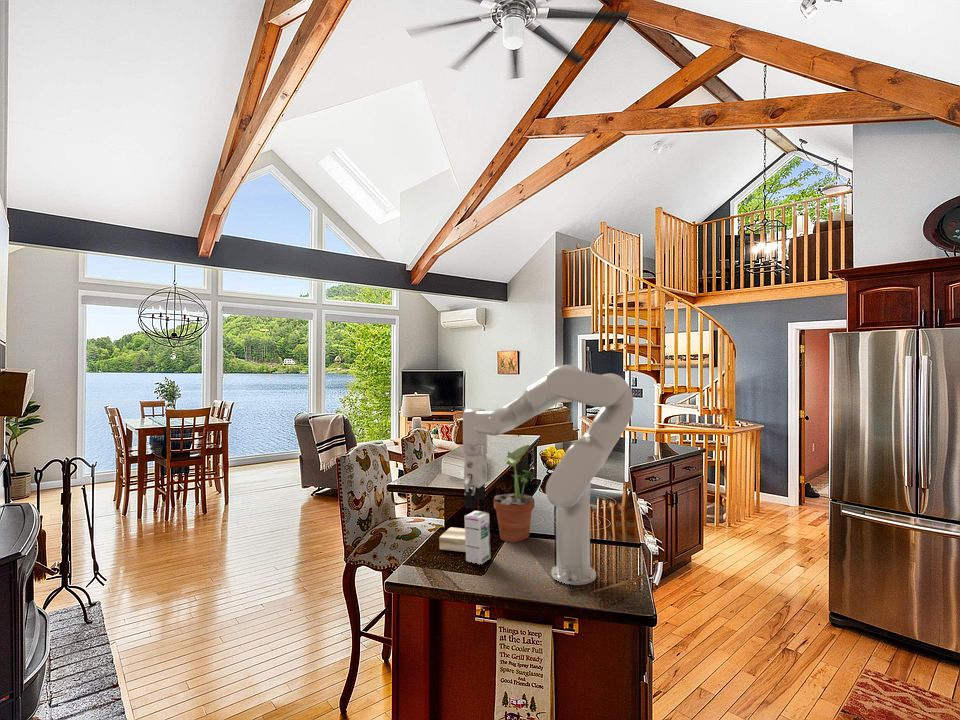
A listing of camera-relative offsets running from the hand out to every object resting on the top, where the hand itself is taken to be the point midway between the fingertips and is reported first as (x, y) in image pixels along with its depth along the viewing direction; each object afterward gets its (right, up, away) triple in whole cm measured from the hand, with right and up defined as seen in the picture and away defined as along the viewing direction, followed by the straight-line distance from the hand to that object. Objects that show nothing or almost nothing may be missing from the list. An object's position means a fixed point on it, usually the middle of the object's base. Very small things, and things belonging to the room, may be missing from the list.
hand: (475, 503), depth 162 cm
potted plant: (+14, -17, +20) cm, 30 cm away
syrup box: (+1, -18, 0) cm, 18 cm away
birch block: (-6, -18, +13) cm, 22 cm away
